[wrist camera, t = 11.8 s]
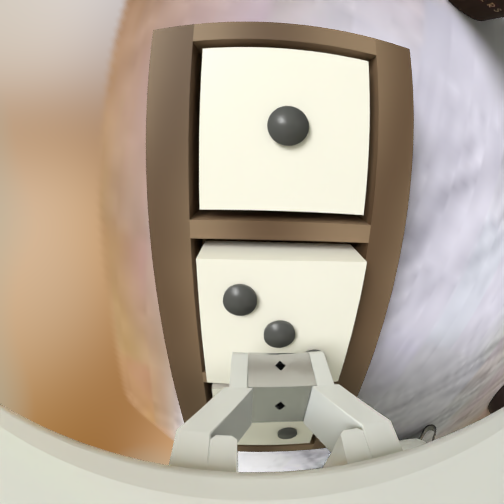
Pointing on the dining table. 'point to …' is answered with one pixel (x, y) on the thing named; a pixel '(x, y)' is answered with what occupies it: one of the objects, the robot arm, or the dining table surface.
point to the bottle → (497, 401)
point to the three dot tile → (277, 300)
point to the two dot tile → (271, 430)
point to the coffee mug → (480, 8)
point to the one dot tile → (283, 130)
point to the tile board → (264, 221)
